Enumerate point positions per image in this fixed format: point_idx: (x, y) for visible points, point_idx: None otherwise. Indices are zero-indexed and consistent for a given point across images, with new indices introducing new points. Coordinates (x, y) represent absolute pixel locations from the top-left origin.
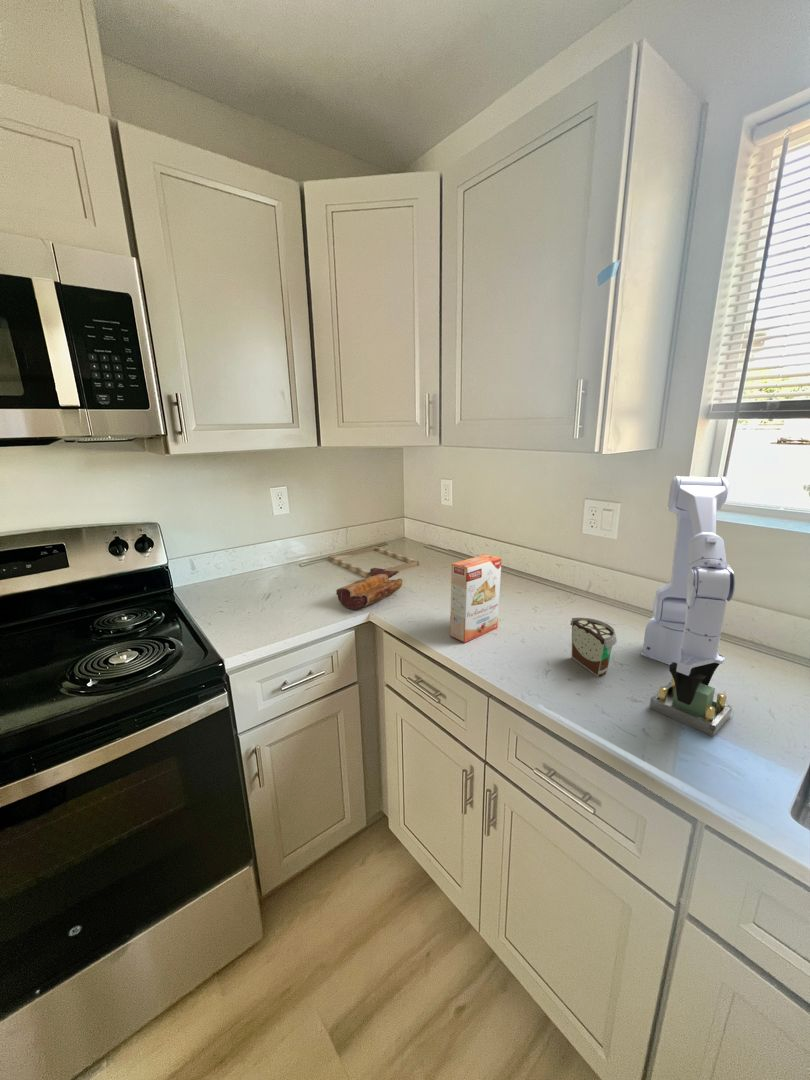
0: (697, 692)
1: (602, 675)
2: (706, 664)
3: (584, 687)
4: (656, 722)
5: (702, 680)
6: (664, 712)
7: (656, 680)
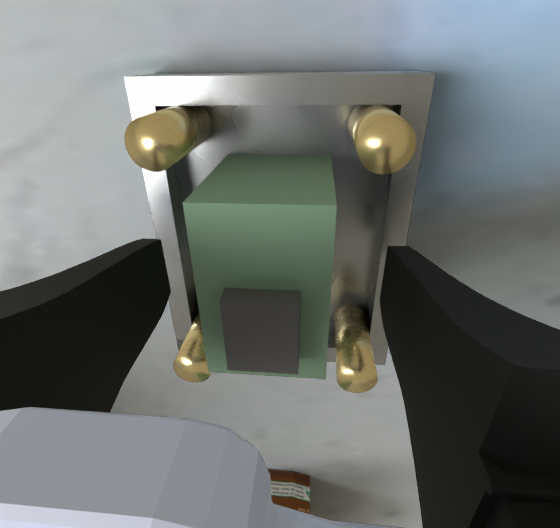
0: (332, 265)
1: (289, 472)
2: (53, 378)
3: (405, 481)
4: (468, 284)
5: (137, 286)
6: None
7: (158, 369)
